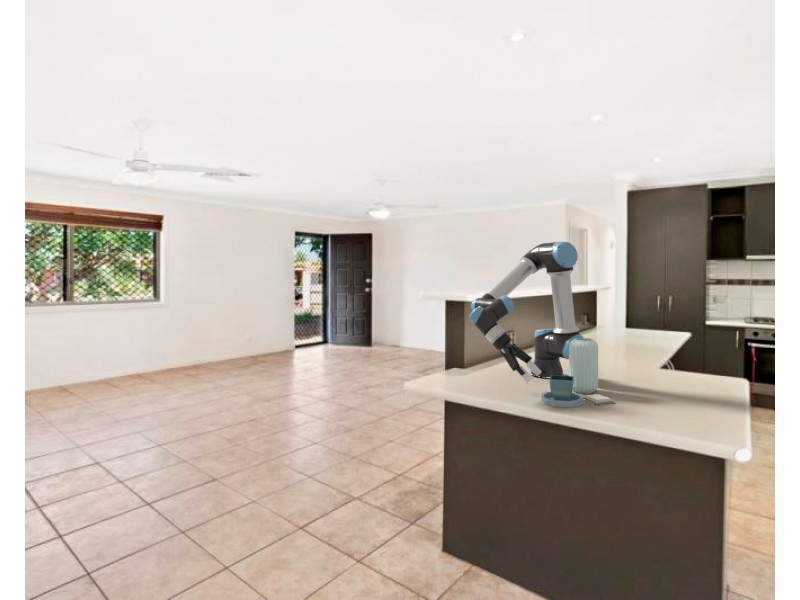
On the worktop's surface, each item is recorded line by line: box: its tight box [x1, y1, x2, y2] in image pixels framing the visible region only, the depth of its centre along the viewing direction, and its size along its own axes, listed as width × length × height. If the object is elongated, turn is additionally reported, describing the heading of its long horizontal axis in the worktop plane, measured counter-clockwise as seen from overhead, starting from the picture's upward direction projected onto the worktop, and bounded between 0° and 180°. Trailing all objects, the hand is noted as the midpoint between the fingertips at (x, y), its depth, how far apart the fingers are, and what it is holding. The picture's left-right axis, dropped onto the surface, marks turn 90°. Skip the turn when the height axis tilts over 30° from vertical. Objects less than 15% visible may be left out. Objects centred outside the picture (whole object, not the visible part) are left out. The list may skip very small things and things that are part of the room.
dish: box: [541, 391, 584, 408], centre depth 186 cm, size 15×15×2 cm
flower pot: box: [548, 375, 574, 401], centre depth 186 cm, size 9×9×9 cm
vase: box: [568, 337, 599, 394], centre depth 201 cm, size 12×12×22 cm
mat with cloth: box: [582, 393, 616, 406], centre depth 186 cm, size 10×8×2 cm
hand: (535, 377), depth 191 cm, fingers open, 13 cm apart
